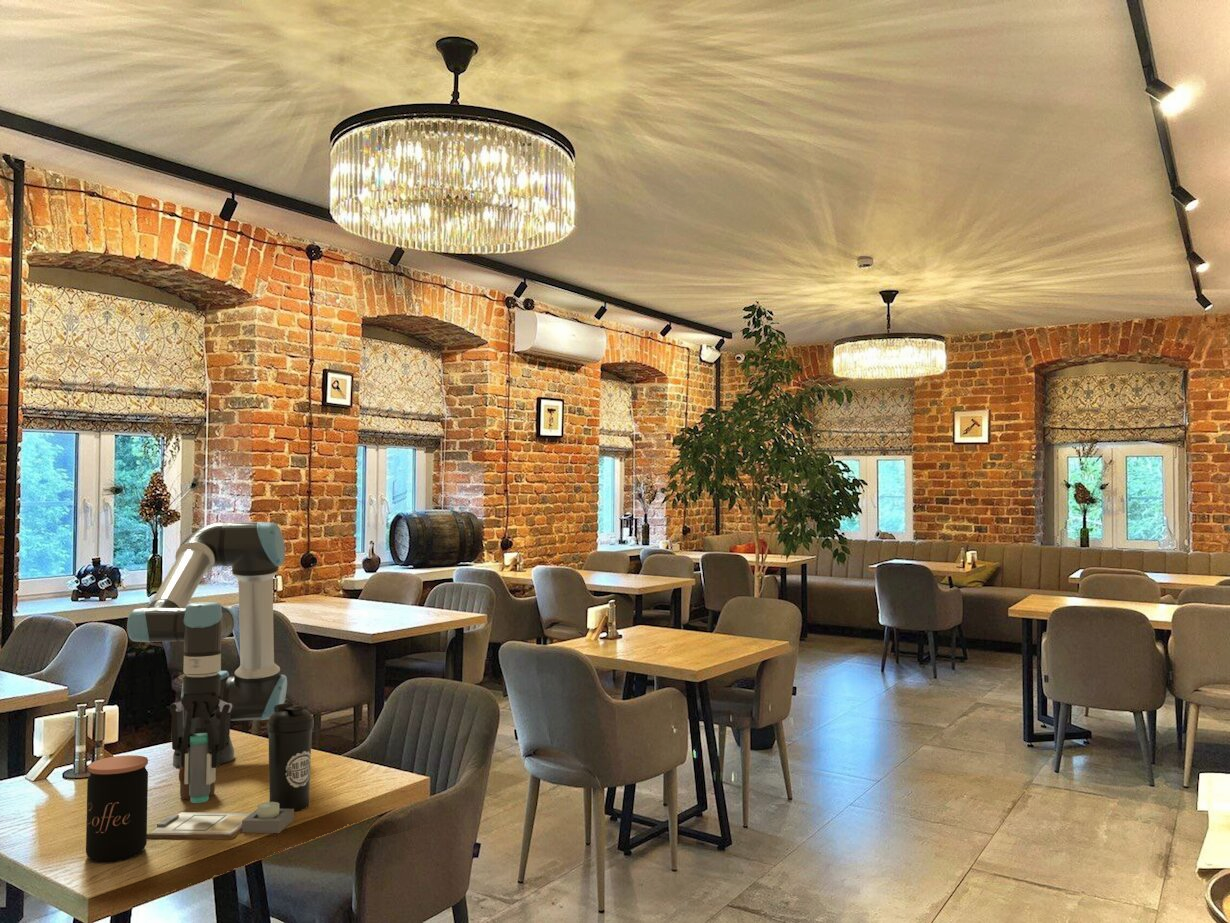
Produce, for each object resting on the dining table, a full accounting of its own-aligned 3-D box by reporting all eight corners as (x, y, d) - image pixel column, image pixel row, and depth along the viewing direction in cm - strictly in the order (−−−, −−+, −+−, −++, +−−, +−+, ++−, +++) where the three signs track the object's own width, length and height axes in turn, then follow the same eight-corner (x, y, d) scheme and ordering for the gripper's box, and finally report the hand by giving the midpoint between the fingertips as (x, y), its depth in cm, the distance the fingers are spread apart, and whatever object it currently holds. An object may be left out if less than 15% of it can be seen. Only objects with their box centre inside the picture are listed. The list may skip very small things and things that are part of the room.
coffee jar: (72, 862, 183) (74, 768, 184) (111, 842, 194) (113, 753, 194) (121, 866, 181) (123, 771, 182) (158, 846, 192) (159, 756, 193)
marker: (194, 797, 208) (195, 732, 208) (213, 797, 208) (214, 732, 208) (184, 803, 203) (186, 737, 204) (204, 803, 203) (205, 737, 204)
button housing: (257, 819, 208) (257, 808, 208) (293, 820, 207) (293, 808, 207) (241, 832, 200) (241, 820, 200) (279, 833, 199) (279, 821, 199)
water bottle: (282, 817, 209) (284, 712, 210) (256, 808, 216) (258, 706, 216) (321, 805, 217) (323, 704, 218) (295, 797, 224) (296, 698, 225)
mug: (196, 807, 216) (197, 765, 217) (164, 806, 217) (164, 765, 217) (220, 791, 228) (221, 751, 229) (189, 790, 229) (190, 751, 229)
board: (179, 815, 210) (179, 808, 211) (259, 816, 210) (259, 809, 210) (145, 838, 196) (146, 830, 197) (230, 839, 196) (231, 831, 196)
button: (262, 815, 206) (262, 801, 206) (282, 816, 206) (282, 802, 206) (253, 822, 201) (254, 808, 202) (274, 822, 201) (274, 808, 201)
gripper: (154, 676, 204) (152, 787, 202) (233, 677, 203) (231, 788, 202) (172, 670, 211) (170, 777, 210) (248, 671, 210) (246, 778, 209)
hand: (200, 782), depth 206 cm, fingers closed on marker, 4 cm apart
